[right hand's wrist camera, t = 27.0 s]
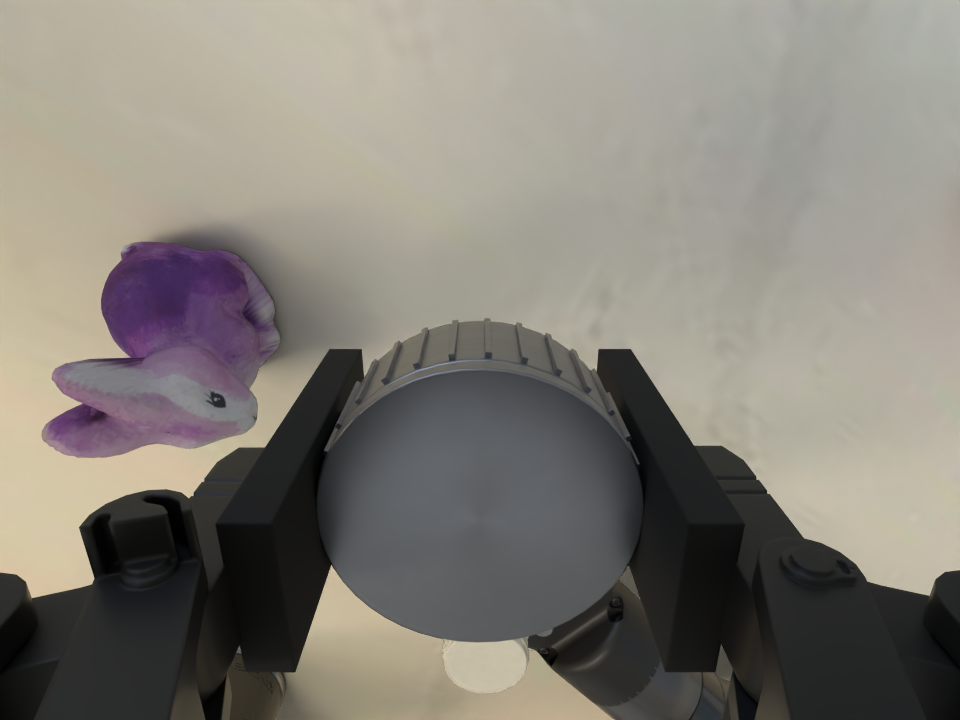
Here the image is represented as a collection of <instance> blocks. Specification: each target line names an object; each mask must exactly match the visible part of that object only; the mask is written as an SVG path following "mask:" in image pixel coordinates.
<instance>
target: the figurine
mask: <svg viewBox="0 0 960 720" xmlns="http://www.w3.org/2000/svg"><path fill="white" fill-rule="evenodd" d="M121 257H122V261H121V262H120V263H119V264H118V265H117V266H116V267H115V268H114V269H113V270H112V271H111V273H110V274H109V276H108V278H107V281H106V283H105V286H104V289H103V293H102V297H101V309H102V314H103V317H104V319H105V321H106V323H107V326H108V329H109V331H110V333H111V336H112V338H113V339H114V341H115V342H116V343H117V345H118V346H119V347H120V348H121V349H122V350H123V351H124V352H125V353H126V354H127V355H128V356H130V357H131V358H109V359H88V360H83V361H77V362H72V363H66V364H64V365H62V366H60V367H58V368H56V369H55V370H54V372H53V373H52V380H53V381H54V382H55V384H56V386H57V387H58V388H59V389H60V390H61V392H62V393H63V394H65V395H67V396H69V397H71V398H72V399H74V400H76V401H79V402H81V403H83V404H81V405H79V406H77V407H75V408H72V409H70V410H68V411H66V412H64V413H63V414H61V415H59V416H58V417H56V418H54V419H53V420H51V421H50V422H49V423H47V424H46V425H45V427H44V429H43V430H42V439H43V440H44V442H46V443H47V444H48V445H49V446H51V447H54V449H55V450H57V451H59V452H61V453H62V454H65V455H68V456H76V457H86V458H96V457H110V456H115V455H121V454H124V453H127V452H129V451H132V450H134V449H137V448H139V447H142V446H146V445H150V444H165V445H171V446H175V447H180V448H186V449H190V448H198V447H201V446H204V445H207V444H210V443H212V442H215V441H218V440H221V439H224V438H228V437H232V436H236V435H241V434H243V433H245V432H247V431H248V430H249V429H251V428H252V427H253V426H254V424H255V422H256V420H257V410H258V404H257V400H256V398H255V396H254V395H253V393H252V392H251V391H250V390H249V388H250V387H251V385H252V384H253V382H254V380H255V378H256V376H257V373H258V369H259V368H260V367H261V366H262V365H263V364H264V361H266V360H267V359H268V358H269V356H271V355H272V354H274V352H275V351H276V349H278V347H279V345H280V334H279V332H278V330H277V327H276V326H275V325H274V321H273V318H274V315H275V307H274V302H273V300H272V299H271V296H270V295H269V293H268V291H267V290H265V288H264V285H263V284H262V283H261V282H260V280H259V279H258V277H257V276H256V274H255V273H254V272H253V271H252V270H251V269H250V267H249V266H248V265H246V263H245V262H244V261H243V260H242V259H241V258H240V257H239V256H237V255H235V254H233V253H231V252H229V251H225V250H213V251H201V250H195V249H192V248H189V247H186V246H182V245H179V244H174V243H160V242H135V243H131V244H129V245H126V246H124V247H123V249H122V252H121Z"/></svg>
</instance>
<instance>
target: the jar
mask: <svg viewBox="0 0 960 720" xmlns="http://www.w3.org/2000/svg"><path fill="white" fill-rule="evenodd" d="M528 637H529V636H528ZM528 637H523V638H519V639H514V640H507V641H499V642H461V641H453V640H447V639H443V640H444V644H443V655H442V659H444V666H445V670H446V673H447V675H448V676H449V678H450V679H451V680H452V681H453V682H454V683H455V684H456V685H458V686H459V687H461V688H463V689H465V690H468V691H471V692H475V693H486V694H487V693H496V692H500V691H503V690H506V689H508V688H510V687H512V686H513V685H515V684H516V683H517V682H519V680H520V679H521V678H522V677H523V675H524V673H525V671H526V668H527V664H528V661H529V650H528Z"/></svg>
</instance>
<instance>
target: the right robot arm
mask: <svg viewBox="0 0 960 720" xmlns="http://www.w3.org/2000/svg"><path fill="white" fill-rule="evenodd" d="M597 374H598V376H599V378H600V380H601V382H602V385H603V387H604V389H605V391H606V393H608V392H610V394H611V396H612V399H613V401H614V403H615V405H616V407H617V409H618V411H619V413H620V415H621V418H622V420H623V422H624V424H625V426H626V428H627V430H628V432H629V434H630V437H631V439H632V440H631V441H630V443H631V446H632V448H633V450H634V452H635V454H636V456H637V458H638V461H639V463H640V469H639V470H640V474H641V478H642V482H643V487H644V499H645V506H644V515H643V523H642V530H641V535H640V540H639V542H638V545H637V547H636V550H635V552H634V555H633V557H632V559H631V561H630V562H629V566H630V569H631V572H632V575H633V578H634V581H635V584H636V587H637V590H638V593H639V596H640V599H641V602H642V605H643V608H644V611H645V614H646V617H647V620H648V623H649V625H650V628H651V631H652V634H653V637H654V640H655V643H656V646H657V649H658V652H659V655H660V658H661V661H662V664H663V667H664V670H665V672H715V671H716V666H717V661H718V656H719V651H720V646H721V644H722V646H723V648H724V651H725V653H726V655H727V657H728V659H729V661H730V664H731V666H732V668H733V671H732V676H731V681H730V685H729V690H728V694H727V699H726V704H725V708H724V713H723V717H722V720H960V570H959V571H951V572H945V573H943V574H942V575H941V576H939V577H938V578H937V579H936V580H935V583H934V585H933V588H932V591H931V594H930V596H927V595H922V594H918V593H913V592H909V591H904V590H899V589H895V588H890V587H885V586H881V585H877V584H874V583H870V582H867V580H866V578H865V576H864V575H863V574H862V572H861V571H860V569H859V568H858V567H857V565H856V564H855V563H853V562H852V561H851V560H849V559H848V558H847V557H846V556H844V555H843V554H842V553H840V552H838V551H836V550H834V549H832V548H830V547H828V546H826V545H824V544H822V543H819V542H815V541H811V540H808V539H804V538H803V537H802V535H801V534H800V533H799V531H798V530H797V529H796V527H795V526H794V525H793V524H792V522H791V521H790V520H789V518H788V517H787V516H786V515H785V513H784V512H783V511H782V509H781V508H780V507H779V506H778V504H777V503H776V502H775V500H774V499H773V498H772V496H771V495H770V494H767V490H766V489H765V487H764V486H763V485H762V484H761V482H760V481H759V480H756V476H755V474H754V473H753V472H752V471H751V469H750V468H749V467H748V465H747V464H746V463H745V462H744V460H742V459H741V458H739V457H738V456H736V455H735V454H733V453H732V452H730V451H729V450H727V449H726V448H724V447H723V446H694V445H693V443H692V442H691V440H690V439H689V437H688V436H687V434H686V433H685V431H684V430H683V428H682V427H681V425H680V424H679V422H678V421H677V419H676V418H675V416H674V414H673V413H672V411H671V410H670V408H669V407H668V405H667V404H666V402H665V401H664V399H663V398H662V396H661V395H660V393H659V392H658V390H657V389H656V387H655V386H654V384H653V382H652V381H651V379H650V378H649V376H648V375H647V373H646V372H645V370H644V369H643V367H642V366H641V364H640V363H639V361H638V360H637V358H636V357H635V355H634V353H633V352H632V350H631V349H599V351H598V364H597ZM363 379H364V372H363V359H362V349H329V351H328V353H327V354H326V356H325V357H324V359H323V360H322V362H321V363H320V365H319V366H318V368H317V369H316V371H315V372H314V374H313V375H312V377H311V378H310V380H309V381H308V383H307V385H306V386H305V388H304V389H303V391H302V392H301V394H300V395H299V397H298V398H297V400H296V401H295V403H294V404H293V406H292V407H291V409H290V410H289V412H288V414H287V415H286V417H285V418H284V420H283V421H282V423H281V424H280V426H279V427H278V429H277V430H276V432H275V433H274V435H273V436H272V438H271V439H270V441H269V443H268V444H267V446H266V447H265V448H238V449H236V450H235V451H233V452H232V453H230V454H229V455H227V456H226V457H224V458H223V459H221V460H220V461H218V462H217V463H216V464H215V466H214V467H213V468H212V470H211V471H210V472H209V474H208V475H207V476H206V477H205V481H204V482H202V483H201V484H200V485H199V487H198V488H197V489H196V491H195V492H194V496H191V497H190V498H187V497H186V496H185V495H184V494H182V493H181V492H176V491H171V490H167V489H165V490H147V491H143V492H138V493H134V494H130V495H126V496H124V497H121V498H119V499H117V500H114V501H112V502H109V503H107V504H105V505H104V506H102V507H101V508H99V509H98V510H96V511H95V512H93V513H92V514H90V515H89V516H88V517H87V519H86V520H85V521H84V522H83V523H82V525H81V526H80V527H79V529H80V532H81V535H82V539H83V542H84V545H85V548H86V552H87V555H88V558H89V561H90V565H91V568H92V571H93V574H94V578H95V579H94V581H93V584H92V585H89V586H85V587H82V588H77V589H73V590H68V591H64V592H59V593H54V594H50V595H45V596H41V597H36V598H31V595H30V592H29V590H28V587H27V584H26V582H25V581H24V580H23V579H21V578H20V577H19V576H17V575H15V574H7V573H0V720H229V719H230V709H231V700H232V693H231V686H230V681H229V676H228V670H229V668H230V665H231V663H232V661H233V659H234V657H235V654H236V652H237V650H238V648H239V646H240V649H241V654H242V659H243V664H244V669H245V672H295V671H296V668H297V665H298V662H299V659H300V656H301V653H302V650H303V647H304V645H305V642H306V639H307V636H308V633H309V630H310V627H311V624H312V621H313V618H314V615H315V612H316V609H317V606H318V603H319V600H320V597H321V594H322V591H323V588H324V585H325V582H326V579H327V576H328V573H329V570H330V567H331V562H330V560H329V559H328V557H327V555H326V553H325V550H324V548H323V545H322V542H321V539H320V535H319V528H318V520H317V512H316V501H315V496H316V489H317V482H318V478H319V474H320V471H321V468H322V465H323V461H324V459H325V457H326V456H323V455H322V454H323V451H324V449H325V447H326V445H327V443H328V440H329V438H330V436H331V434H332V432H333V430H334V428H335V425H336V423H337V421H338V419H339V417H340V415H341V413H342V411H343V408H344V406H345V404H346V402H347V400H348V398H349V396H350V394H351V392H352V389H353V387H354V385H355V383H356V382H357V381H359V382H360V383H361V382H362V380H363Z"/></svg>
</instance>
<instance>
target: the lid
mask: <svg viewBox="0 0 960 720" xmlns="http://www.w3.org/2000/svg"><path fill="white" fill-rule="evenodd" d="M631 440H632V439H631V437H630V434H629V432H628V430H627V428H626V426H625V424H624V422H623V420H622V418H621V415H620V413H619V411H618V409H617V407H616V405H615V403H614V401H613V399H612V396H611V394H610V392H608V393H606V391H605V389H604V387H603V385H602V382H601V380H600V378H599V376H598V374H597V372H596V371H595V369H592V370H591V371H590V369H589V368H588V367H587V366H586V365H585V364H584V363H583V362H582V361H581V360H580V359H579V357H578V354H577V352H576V351H575V350H574V349H571V351H570V350H568V349H567V348H565V347H564V346H562V345H561V344H560V343H558V342H557V341H555V340H553V339H552V337H551V335H550V334H548V333H546V334H545V335H543V334H541V333H538V332H536V331H533V330H530V329H527V328H524V327H522V324H521V323H516V325H512V324H507V323H502V322H490V319H488V318H485V320H484V321H470V322H460V323H459V322H458V320H453V322H452V324H448V325H443V326H440V327H436V328H433V329H430V330H428V328H427V327H426V328H424V329H422V331H421V333H420V334H418V335H415V336H413V337H411V338H409V339H407V340H406V341H404V342H402V343H401V342H400V341H398V342H396V343H395V344H394V347H393V349H392V350H390V351H389V352H388V353H387V354H386V355H384V356H383V357H382V358H381V359H380V360H379V361H377V360H376V359H375V360H374V361H373V362H372V363H371V366H370V368H369V370H368V372H367V374H366V376H365V377H364V379H363V380H362V382H361V383H360V382H359V381H357V382H356V383H355V385H354V387H353V389H352V392H351V394H350V396H349V398H348V400H347V402H346V404H345V406H344V408H343V411H342V413H341V415H340V417H339V419H338V421H337V423H336V425H335V428H334V430H333V432H332V434H331V436H330V438H329V440H328V443H327V445H326V447H325V449H324V451H323V454H322V455H323V456H326V457H325V459H324V461H323V465H322V468H321V471H320V474H319V478H318V482H317V489H316V496H315V501H316V512H317V520H318V528H319V535H320V539H321V542H322V545H323V548H324V550H325V553H326V555H327V557H328V559H329V560H330V562H331V564H332V566H333V568H334V569H335V571H336V572H337V574H338V575H339V577H340V578H341V579H342V581H343V582H344V583H345V584H346V585H347V587H348V588H349V589H350V590H351V591H352V592H353V593H354V594H355V595H356V596H357V597H358V598H359V599H361V600H362V601H363V602H364V603H365V604H366V605H368V606H369V607H370V608H372V609H373V610H375V611H376V612H378V613H379V614H381V615H382V616H384V617H385V618H387V619H389V620H391V621H393V622H395V623H397V624H399V625H401V626H403V627H405V628H408V629H411V630H413V631H416V632H418V633H421V634H425V635H429V636H433V637H436V638H441V639H447V640H453V641H461V642H499V641H507V640H514V639H519V638H523V637H528V636H532V635H535V634H538V633H541V632H544V631H547V630H550V629H553V628H555V627H557V626H559V625H561V624H563V623H565V622H568V621H570V620H571V619H573V618H575V617H576V616H578V615H579V614H581V613H583V612H584V611H586V610H587V609H588V608H590V607H591V606H592V605H594V604H595V603H596V602H597V601H599V600H600V599H601V598H602V597H603V596H604V595H605V594H606V593H607V592H608V591H609V590H610V589H611V588H612V587H613V586H614V584H615V583H616V582H617V581H618V579H619V578H620V577H621V575H622V574H623V573H624V571H625V569H626V568H627V566H628V564H629V562H630V561H631V559H632V557H633V555H634V552H635V550H636V547H637V545H638V542H639V540H640V535H641V530H642V523H643V515H644V506H645V499H644V487H643V482H642V478H641V474H640V470H639V469H640V463H639V461H638V458H637V456H636V454H635V452H634V450H633V448H632V446H631V443H630V441H631Z"/></svg>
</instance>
